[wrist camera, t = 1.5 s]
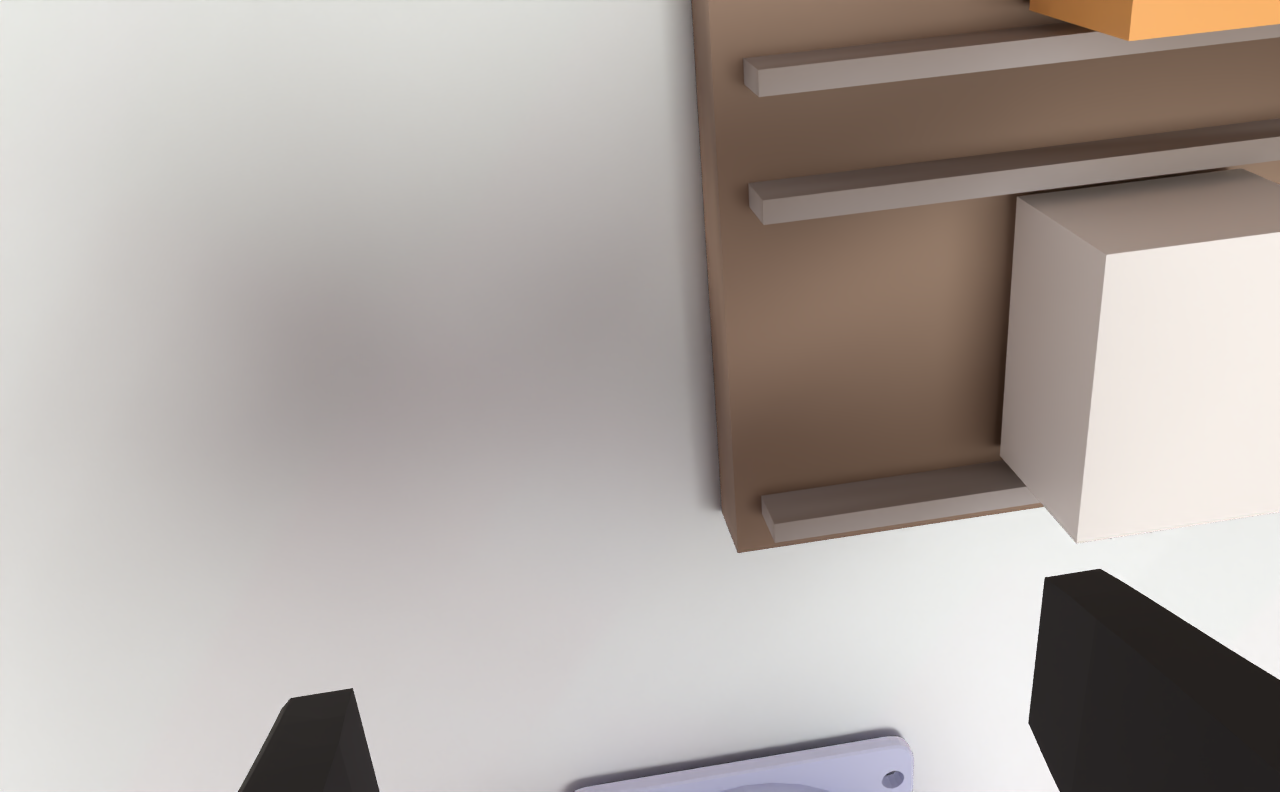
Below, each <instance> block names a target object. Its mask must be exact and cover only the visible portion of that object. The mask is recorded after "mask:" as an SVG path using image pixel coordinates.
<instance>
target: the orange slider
mask: <svg viewBox="0 0 1280 792" xmlns="http://www.w3.org/2000/svg"><path fill="white" fill-rule="evenodd" d="M1029 10H1030V11H1033V12H1037V13H1040V14H1043V15H1046V16H1049V17H1053V18H1056V19H1059V20H1062V21H1065V22H1069V23H1072V24H1075V25H1078V26H1082V27H1085V28H1088V29H1091V30H1094V31H1098V32H1101V33H1104V34H1107V35H1110V36H1114V37H1117V38H1120V39H1123V40H1126V41H1135V40H1144V39H1152V38H1161V37H1170V36H1179V35H1187V34H1196V33H1205V32H1214V31H1222V30H1231V29H1240V28H1249V27H1257V26H1266V25H1275V24H1280V0H1030V6H1029Z"/></svg>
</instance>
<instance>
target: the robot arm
mask: <svg viewBox="0 0 1280 792" xmlns="http://www.w3.org/2000/svg"><path fill="white" fill-rule="evenodd" d="M1028 723H1029V725H1030V727H1031V730H1032V732H1033V734H1034V736H1035V739H1036V741H1037V743H1038V745H1039V748H1040V750H1041V752H1042V754H1043V757H1044V759H1045V761H1046V763H1047V766H1048V768H1049V770H1050V772H1051V774H1052V776H1053V779H1054V781H1055V783H1056V785H1057V787H1058V789H1059V791H1060V792H1280V680H1279V679H1277V678H1276V677H1274V676H1272V675H1271V674H1269V673H1267V672H1266V671H1264V670H1263V669H1261V668H1259V667H1258V666H1256V665H1254V664H1253V663H1251V662H1249V661H1248V660H1246V659H1245V658H1243V657H1241V656H1240V655H1238V654H1237V653H1235V652H1233V651H1232V650H1230V649H1229V648H1227V647H1225V646H1224V645H1222V644H1221V643H1219V642H1217V641H1216V640H1214V639H1213V638H1211V637H1209V636H1208V635H1206V634H1205V633H1203V632H1202V631H1200V630H1198V629H1197V628H1195V627H1194V626H1192V625H1190V624H1189V623H1187V622H1186V621H1184V620H1183V619H1181V618H1179V617H1178V616H1176V615H1175V614H1173V613H1172V612H1170V611H1168V610H1167V609H1165V608H1164V607H1162V606H1160V605H1159V604H1157V603H1156V602H1154V601H1153V600H1151V599H1149V598H1148V597H1146V596H1145V595H1143V594H1141V593H1140V592H1138V591H1137V590H1135V589H1133V588H1132V587H1130V586H1128V585H1127V584H1125V583H1124V582H1122V581H1120V580H1119V579H1117V578H1115V577H1113V576H1112V575H1110V574H1108V573H1107V572H1105V571H1103V570H1101V569H1095V570H1089V571H1083V572H1077V573H1070V574H1064V575H1058V576H1052V577H1045V580H1044V589H1043V598H1042V607H1041V616H1040V625H1039V634H1038V642H1037V651H1036V660H1035V669H1034V678H1033V687H1032V696H1031V705H1030V713H1029V722H1028ZM913 769H914V757H913V753H912V750H911V748H910V746H909V744H908V743H907V742H906V741H905V740H904V738H901V737H898V736H886V737H880V738H874V739H868V740H862V741H856V742H850V743H844V744H838V745H833V746H827V747H821V748H815V749H809V750H803V751H797V752H791V753H785V754H779V755H773V756H767V757H761V758H755V759H749V760H743V761H737V762H731V763H725V764H719V765H713V766H707V767H701V768H696V769H690V770H684V771H678V772H672V773H666V774H660V775H654V776H648V777H642V778H636V779H630V780H624V781H618V782H612V783H606V784H600V785H594V786H588V787H584V788H581V789H577V790H576V791H574V792H913ZM892 771H895V772H894V773H893V774H891V775H888V776H885V775H886V774H887V773H889V772H892ZM238 792H379V788H378V784H377V780H376V776H375V772H374V769H373V765H372V761H371V757H370V753H369V749H368V745H367V741H366V738H365V734H364V730H363V726H362V722H361V718H360V714H359V710H358V707H357V703H356V699H355V695H354V691H353V688H351V689H345V690H339V691H332V692H326V693H320V694H314V695H307V696H301V697H295V698H291V699H290V700H289V701H288V702H287V703H286V704H285V706H284V707H283V708H282V709H281V711H280V713H279V715H278V717H277V719H276V721H275V723H274V725H273V727H272V729H271V731H270V733H269V735H268V737H267V739H266V741H265V742H264V744H263V746H262V748H261V750H260V752H259V754H258V756H257V758H256V760H255V762H254V763H253V765H252V767H251V769H250V771H249V773H248V775H247V776H246V778H245V780H244V782H243V784H242V785H241V787H240V789H239V791H238Z"/></svg>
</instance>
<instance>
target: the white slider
mask: <svg viewBox="0 0 1280 792" xmlns="http://www.w3.org/2000/svg"><path fill="white" fill-rule="evenodd" d="M1000 456H1001V457H1002V459H1003V460H1004V461H1005V462H1006V463H1007V464H1008V466H1009V467H1010V468H1011V469H1012V470H1013V471H1014V472H1015V474H1016V475H1017V476H1018V477H1019V478H1020V479H1021V480H1022V482H1023V483H1024V484H1025V485H1026V486H1027V487H1028V488H1029V490H1030V491H1031V492H1032V493H1033V494H1034V495H1035V497H1036V498H1037V499H1038V500H1039V501H1040V502H1041V503H1042V505H1043V506H1044V507H1045V508H1046V509H1047V510H1048V511H1049V513H1050V514H1051V515H1052V516H1053V517H1054V518H1055V520H1056V521H1057V522H1058V523H1059V524H1060V525H1061V526H1062V528H1063V529H1064V530H1065V531H1066V532H1067V533H1068V534H1069V536H1070V537H1071V538H1072V539H1073V540H1074V541H1075V542H1076V544H1077V543H1083V542H1090V541H1096V540H1103V539H1109V538H1116V537H1122V536H1129V535H1135V534H1142V533H1148V532H1154V531H1161V530H1167V529H1174V528H1180V527H1187V526H1193V525H1200V524H1206V523H1213V522H1219V521H1226V520H1232V519H1238V518H1245V517H1251V516H1258V515H1264V514H1271V513H1277V512H1280V185H1279V184H1277V183H1275V182H1272V181H1270V180H1268V179H1265V178H1263V177H1261V176H1258V175H1256V174H1254V173H1251V172H1249V171H1247V170H1244V169H1242V168H1240V169H1232V170H1224V171H1216V172H1208V173H1200V174H1192V175H1184V176H1176V177H1168V178H1160V179H1152V180H1144V181H1136V182H1128V183H1121V184H1113V185H1105V186H1097V187H1089V188H1081V189H1073V190H1065V191H1057V192H1049V193H1041V194H1033V195H1025V196H1017V203H1016V219H1015V234H1014V249H1013V264H1012V279H1011V295H1010V310H1009V325H1008V340H1007V355H1006V371H1005V386H1004V401H1003V416H1002V431H1001V446H1000Z"/></svg>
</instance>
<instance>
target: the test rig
mask: <svg viewBox="0 0 1280 792" xmlns="http://www.w3.org/2000/svg"><path fill="white" fill-rule="evenodd" d="M691 3H692V19H693V36H694V53H695V70H696V86H697V103H698V120H699V137H700V154H701V170H702V187H703V204H704V221H705V237H706V254H707V271H708V288H709V305H710V321H711V338H712V355H713V372H714V388H715V405H716V422H717V439H718V456H719V472H720V489H721V506H722V514H723V516H724V519H725V521H726V524H727V526H728V529H729V532H730V534H731V537H732V539H733V542H734V544H735V547H736V550H737V552H738V553H741V552H748V551H755V550H761V549H768V548H774V547H781V546H788V545H794V544H801V543H808V542H814V541H821V540H827V539H834V538H841V537H847V536H854V535H860V534H867V533H874V532H880V531H887V530H893V529H900V528H907V527H913V526H920V525H926V524H933V523H940V522H946V521H953V520H959V519H966V518H973V517H979V516H986V515H992V514H999V513H1006V512H1012V511H1019V510H1026V509H1032V508H1039V507H1044V506H1043V505H1042V503H1041V502H1040V501H1039V500H1038V499H1037V498H1036V497H1035V495H1034V494H1033V493H1032V492H1031V491H1030V490H1029V488H1028V487H1027V486H1026V485H1025V484H1024V483H1023V482H1022V480H1021V479H1020V478H1019V477H1018V476H1017V475H1016V474H1015V472H1014V471H1013V470H1012V469H1011V468H1010V467H1009V466H1008V464H1007V463H1006V462H1005V461H1004V460H1003V459H1002V457H1001V456H1000V446H1001V431H1002V416H1003V401H1004V386H1005V371H1006V355H1007V340H1008V325H1009V310H1010V295H1011V279H1012V264H1013V249H1014V234H1015V219H1016V203H1017V196H1025V195H1033V194H1041V193H1049V192H1057V191H1065V190H1073V189H1081V188H1089V187H1097V186H1105V185H1113V184H1121V183H1128V182H1136V181H1144V180H1152V179H1160V178H1168V177H1176V176H1184V175H1192V174H1200V173H1208V172H1216V171H1224V170H1232V169H1240V168H1242V169H1244V170H1247V171H1249V172H1251V173H1254V174H1256V175H1258V176H1261V177H1263V178H1265V179H1268V180H1270V181H1272V182H1275V183H1277V184H1279V185H1280V24H1275V25H1266V26H1257V27H1249V28H1240V29H1231V30H1222V31H1214V32H1205V33H1196V34H1187V35H1179V36H1170V37H1161V38H1152V39H1144V40H1135V41H1126V40H1123V39H1120V38H1117V37H1114V36H1110V35H1107V34H1104V33H1101V32H1098V31H1094V30H1091V29H1088V28H1085V27H1082V26H1078V25H1075V24H1072V23H1069V22H1065V21H1062V20H1059V19H1056V18H1053V17H1049V16H1046V15H1043V14H1040V13H1037V12H1033V11H1030V10H1029V6H1030V0H691Z"/></svg>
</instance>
